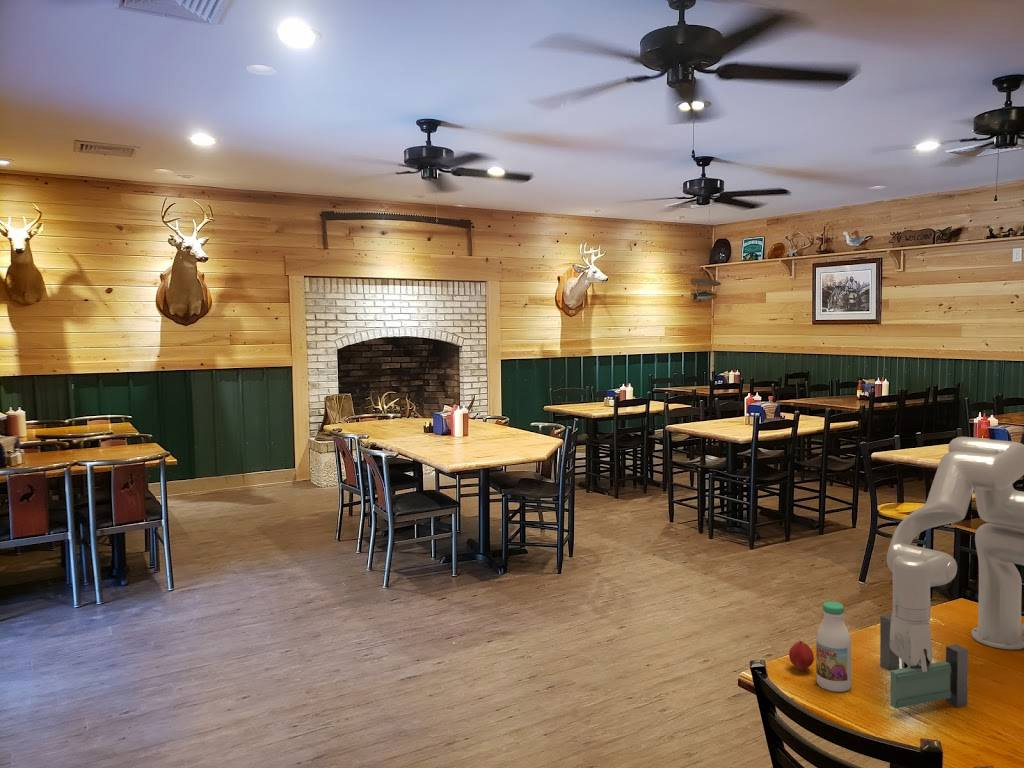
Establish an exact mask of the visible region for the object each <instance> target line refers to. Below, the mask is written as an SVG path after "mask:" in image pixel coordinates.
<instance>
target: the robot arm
mask: <svg viewBox="0 0 1024 768" xmlns="http://www.w3.org/2000/svg"><path fill="white" fill-rule="evenodd" d="M947 449H948V452H947V453H945V454H944V455H943V456H942V457H941V458H940V461H939V463H938V466H937V469H936V472H935V475H934V478H933V481H932V484H931V487H930V490H929V492H928V497H927V499H926V502H925V503H924V505H922V506H921V507H918V509H915V510H914V511H912V512H911V513H910V514H908V516H906V517H905V518H904V519H903V520H901V521H900V523H899V524H898V525H897V527H896V528H895V529H894V532H893V534H892V537H891V540H890V543H889V546H888V549H887V554H886V563H887V566H888V568H889V570H890V571H891V572H892V613H891V615H892V617H891V625H890V649H891V650H892V651H893V652H894V653H895V654H896V655H897V656H898V657H899V660H900V664H901V669H903V668H908V667H914V666H918V667H920V668H921V671H922V672H927V666H930V665H931V663H933V661H932V660H933V652H932V651H933V647H932V646H933V645H932V643H933V642H932V635H931V627H930V621H931V588H933V587H938V586H944V585H947V584H949V583H950V582H952V581H953V580H954V579H955V577H956V575H957V572H958V564H957V563H958V562H957V561H956V559H955V558H954V557H953V556H952V555H951V554H949V553H947V552H944V551H939V550H934V549H931V548H926V547H921V546H917V545H912V542H913V540H914V539H915V538H916V537H917V535H919V534H921V533H922V532H924V531H926V530H928V529H932V528H937V527H941V526H944V525H948V524H954V523H958V522H961V521H963V520H964V519H965V518H966V516H967V513H968V510H969V506H970V504H971V503H970V502H971V500H972V497H973V494H974V497H975V498H974V499H975V503H976V511H977V513H978V516H979V518H980V519H981V520H982V521H984V522H985V523H983V524H982V525H980V526H978V528H977V529H976V530H975V531H976V532H975V533H974V534H975V535H974V542H975V549H976V554H977V559H978V609H977V610H978V612H977V613H978V615H977V616H978V618H977V619H978V620H977V625H978V626H976V627H974V628H972V629H971V637H972V638H973V639H974V640H975V641H976V642H979V643H980V644H982V645H986V646H988V647H991V648H996V649H1001V650H1011V651H1013V650H1014V651H1015V650H1021V649H1022V650H1023V649H1024V635H1023V634H1024V622H1022V589H1023V588H1022V585H1023V584H1022V577H1021V573H1020V571H1019V570H1018V568H1017V567H1016V565H1020V566H1024V491H1020V490H1016V488H1014V485H1013V484H1014V483H1015V482H1016V481H1018V480H1019V479H1021V478H1022V477H1023V476H1024V444H1023V443H1020V442H1019V441H1011V440H1000V439H989V438H981V437H971V436H970V437H969V436H957V437H956V438H953V439H952V440H950V442H949V444H948V448H947ZM1015 564H1016V565H1015Z"/></svg>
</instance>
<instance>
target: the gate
mask: <svg viewBox="0 0 1024 768" xmlns="http://www.w3.org/2000/svg"><path fill="white" fill-rule="evenodd" d="M950 673H951V667H950V663H948V662H946V660H943V661H938V662H931V665H930V666H927V672H922V671H921V668H920V667H918V666H914V667H908V668H903V669H902V668H899V669H896V670H891V671H890V706H891V707H892V708H893V709H895V710H896V709H901V708H906V707H907V708H908V707H911V706H916V705H921V704H926V703H932V702H937V701H942V700H946V699H948V698H950V697H951V691H950Z"/></svg>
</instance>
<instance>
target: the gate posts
mask: <svg viewBox="0 0 1024 768" xmlns="http://www.w3.org/2000/svg"><path fill="white" fill-rule="evenodd" d="M879 617H880V620H879V622H880V624H879V625H880V627H879V628H880V629H879V632H880V633H879V634H880V636H879V638H880V639H879V641H880V642H879V643H880V645H879V648H880V650H879V652H880V653H879V655H880V656H879V661H880V663H879V665H880V667H882V668H884V669H885V670H888V671H889V672H891V671H892V670H897V669H900V658H899V657H898V656H897V655H896V654H895V653H894V652H893V651H892V650H891V649H890V625H891V617H892V613H891V614H890V613H888V614H883V615H880V616H879ZM945 661H946V662H948V663H950V667H951V673H950V691H951V697H950V698H948V699H945V702H946V703H948V704H949V705H951V706H953V707H955V708H961V707H965V706H968V686H969V685H968V678H969V677H968V676H969V673H968V671H969V670H968V668H969V667H968V665H969V664H968V662H969V649H968V648H965V647H963V646H962V645H959V644H957V643H956V644H951V645H947V646H945Z"/></svg>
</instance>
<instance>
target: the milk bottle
mask: <svg viewBox="0 0 1024 768" xmlns="http://www.w3.org/2000/svg"><path fill="white" fill-rule="evenodd" d="M844 607H845V606H844V605H843V604H842V602H841V603H840V602H838V601H825V602H824V603H823V604H822V613H823V619H822V621H821V623H820V625H819V627H818V630H817V632H816V633H817V634H816V640H815V641H816V643H815V646H816V649H815V653H816V655H815V657H816V659H815V663H816V668H815V669H816V682H817V685H818V687H820V688H822V689H824V690H826V691H830V692H835V693H843V692H848V691H849V690H850V689H851V687H852V639H851V636H850V632H849V630H848V627H847V626H846V624H845V621H844V615H845V612H844V611H845V608H844Z"/></svg>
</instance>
